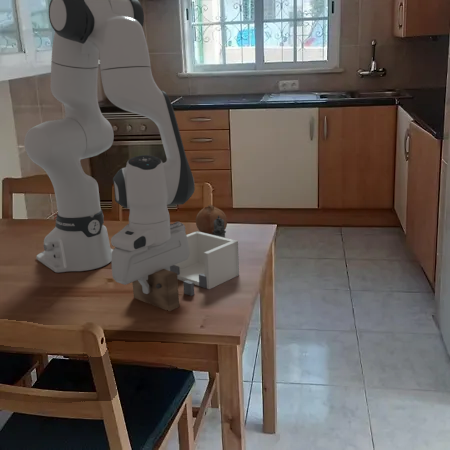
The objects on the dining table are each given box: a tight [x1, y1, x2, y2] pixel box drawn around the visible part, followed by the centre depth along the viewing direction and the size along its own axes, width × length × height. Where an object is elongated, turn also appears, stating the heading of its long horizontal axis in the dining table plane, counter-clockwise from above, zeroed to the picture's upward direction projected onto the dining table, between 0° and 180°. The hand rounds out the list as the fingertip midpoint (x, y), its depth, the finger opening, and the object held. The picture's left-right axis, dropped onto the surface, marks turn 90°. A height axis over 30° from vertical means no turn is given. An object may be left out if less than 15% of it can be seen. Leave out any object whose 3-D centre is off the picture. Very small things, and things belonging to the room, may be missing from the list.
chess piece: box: [213, 216, 227, 238], centre depth 157 cm, size 6×6×12 cm
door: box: [131, 269, 180, 312], centre depth 131 cm, size 12×4×8 cm, turn 49°
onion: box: [195, 203, 228, 235], centre depth 174 cm, size 10×9×10 cm
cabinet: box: [170, 230, 240, 297], centre depth 144 cm, size 14×16×9 cm
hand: (155, 289), depth 132 cm, fingers closed on door, 3 cm apart
